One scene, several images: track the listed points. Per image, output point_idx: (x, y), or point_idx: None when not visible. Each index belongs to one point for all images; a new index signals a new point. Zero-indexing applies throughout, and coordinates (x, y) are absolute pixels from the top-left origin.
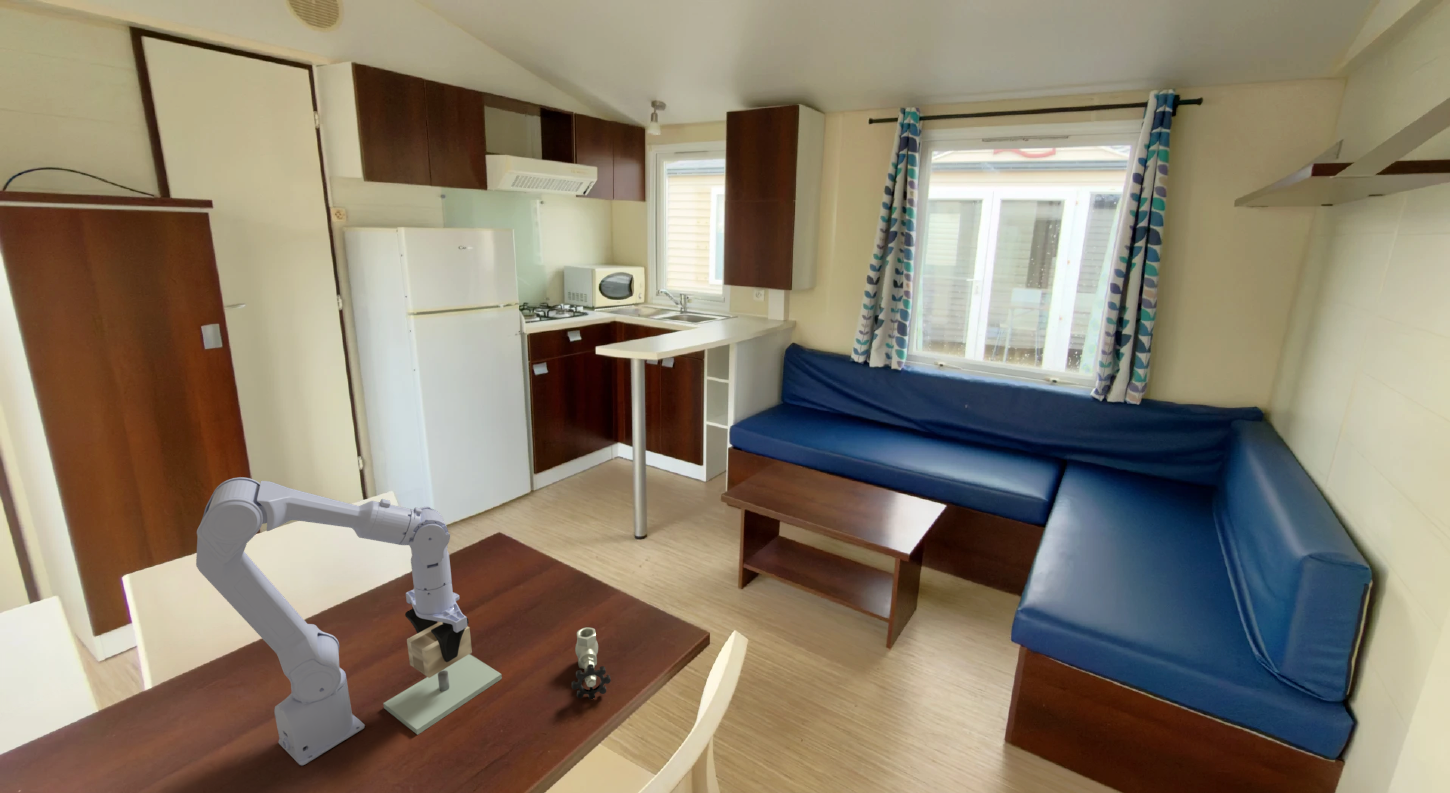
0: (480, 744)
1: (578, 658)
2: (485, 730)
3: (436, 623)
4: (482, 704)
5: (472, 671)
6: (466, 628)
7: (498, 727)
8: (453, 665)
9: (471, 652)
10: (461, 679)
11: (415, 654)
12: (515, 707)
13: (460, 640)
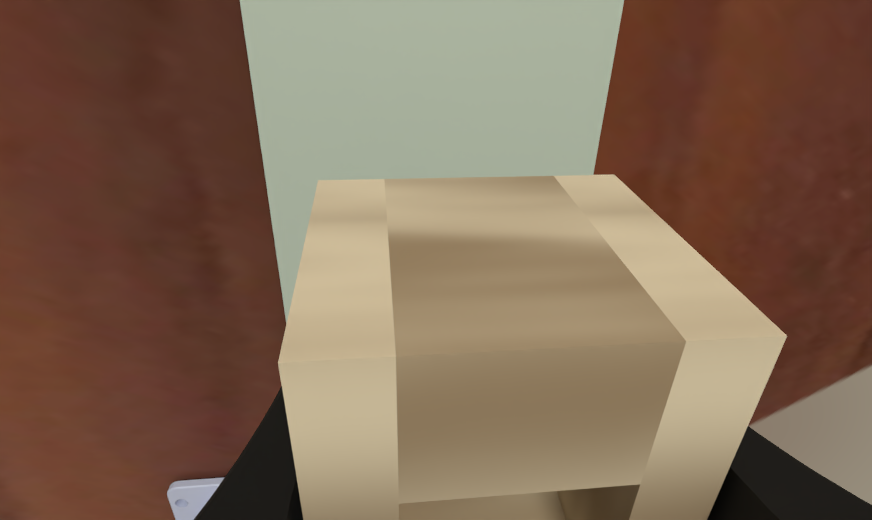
0: (800, 281)
1: None
2: (776, 233)
3: (293, 513)
4: (659, 150)
5: (444, 47)
6: (756, 367)
7: (822, 192)
8: (290, 87)
9: (612, 178)
10: (451, 135)
11: None
12: (834, 62)
13: (774, 447)
